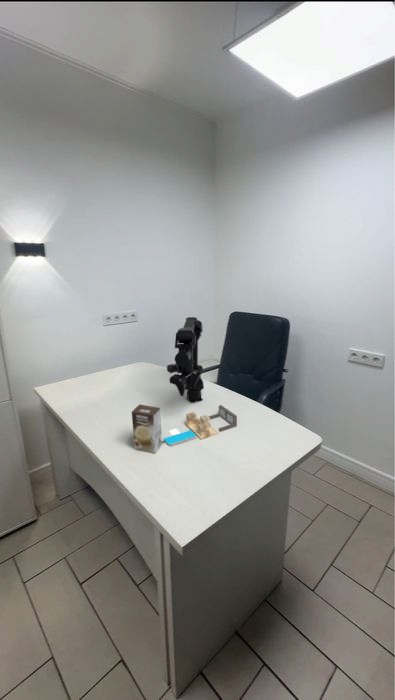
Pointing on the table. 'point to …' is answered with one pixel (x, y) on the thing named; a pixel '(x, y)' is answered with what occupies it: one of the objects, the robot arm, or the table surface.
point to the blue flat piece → (179, 437)
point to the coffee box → (147, 428)
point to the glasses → (226, 418)
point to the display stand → (200, 426)
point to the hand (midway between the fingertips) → (187, 392)
